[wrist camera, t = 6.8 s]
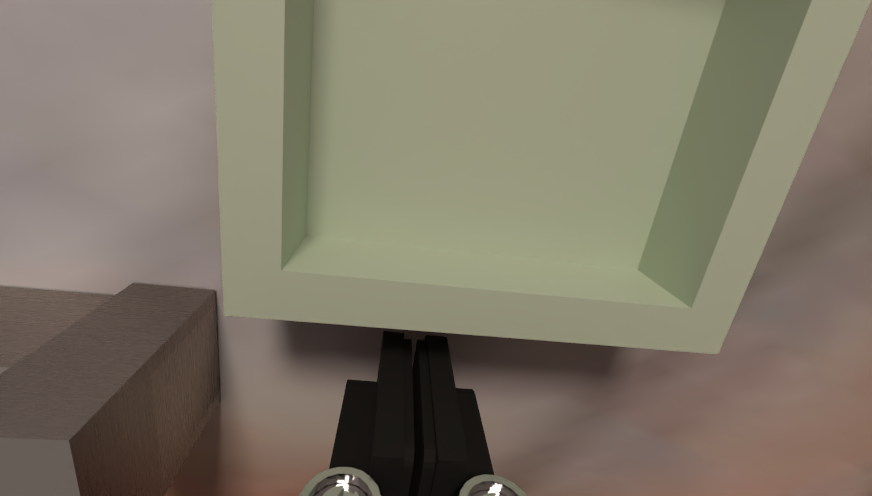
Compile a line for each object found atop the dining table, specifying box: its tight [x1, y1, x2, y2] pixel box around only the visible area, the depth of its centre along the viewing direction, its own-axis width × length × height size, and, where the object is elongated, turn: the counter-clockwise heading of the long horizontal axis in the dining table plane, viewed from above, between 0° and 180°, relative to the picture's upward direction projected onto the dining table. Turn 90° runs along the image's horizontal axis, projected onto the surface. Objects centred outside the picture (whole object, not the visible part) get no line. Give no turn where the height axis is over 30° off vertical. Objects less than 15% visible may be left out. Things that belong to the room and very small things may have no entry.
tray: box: [212, 0, 871, 354], centre depth 8 cm, size 10×10×3 cm
